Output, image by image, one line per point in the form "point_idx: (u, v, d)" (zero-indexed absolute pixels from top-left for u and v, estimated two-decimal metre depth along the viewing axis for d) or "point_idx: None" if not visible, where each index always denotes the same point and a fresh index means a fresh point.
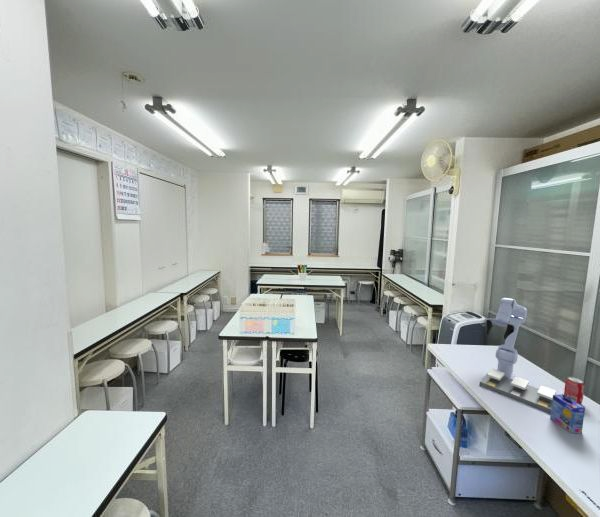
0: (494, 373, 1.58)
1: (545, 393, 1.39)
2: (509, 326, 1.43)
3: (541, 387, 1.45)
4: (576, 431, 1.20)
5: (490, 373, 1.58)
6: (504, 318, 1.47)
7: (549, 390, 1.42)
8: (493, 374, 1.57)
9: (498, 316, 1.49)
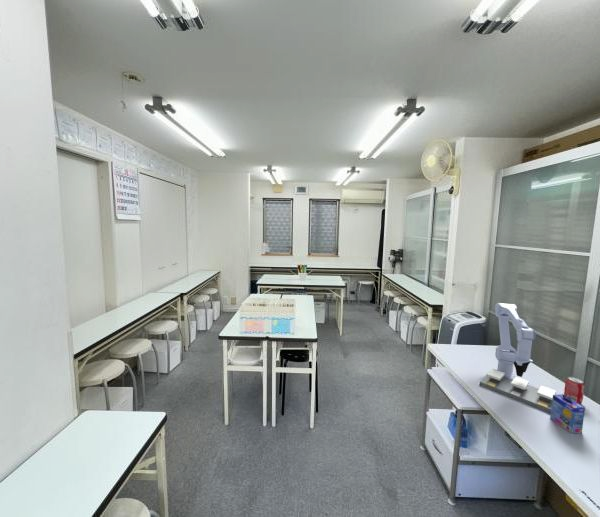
0: (494, 373, 1.58)
1: (545, 393, 1.39)
2: None
3: (541, 387, 1.45)
4: (576, 431, 1.20)
5: (490, 373, 1.58)
6: None
7: (549, 390, 1.42)
8: (493, 374, 1.57)
9: (528, 357, 1.45)
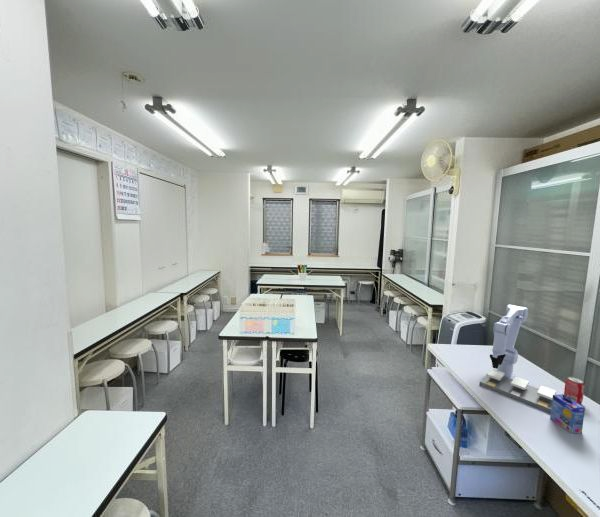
0: (494, 373, 1.58)
1: (545, 393, 1.39)
2: (505, 355, 1.57)
3: (541, 387, 1.45)
4: (576, 431, 1.20)
5: (490, 373, 1.58)
6: None
7: (549, 390, 1.42)
8: (493, 374, 1.57)
9: (503, 350, 1.53)
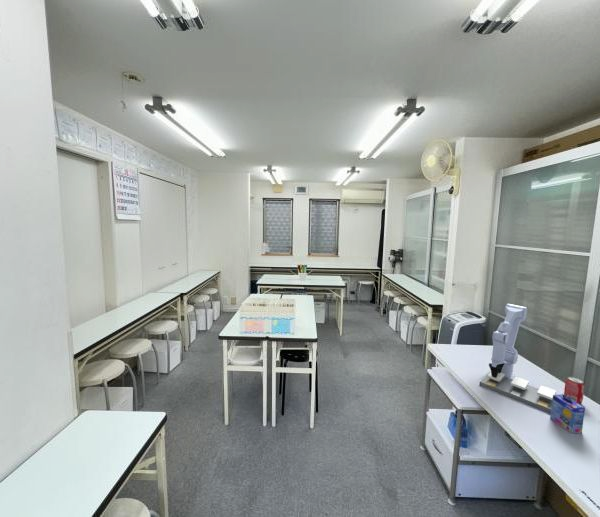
0: None
1: (545, 393, 1.39)
2: (504, 363, 1.58)
3: (541, 387, 1.45)
4: (576, 431, 1.20)
5: (490, 374, 1.58)
6: None
7: (549, 390, 1.42)
8: None
9: (502, 359, 1.54)
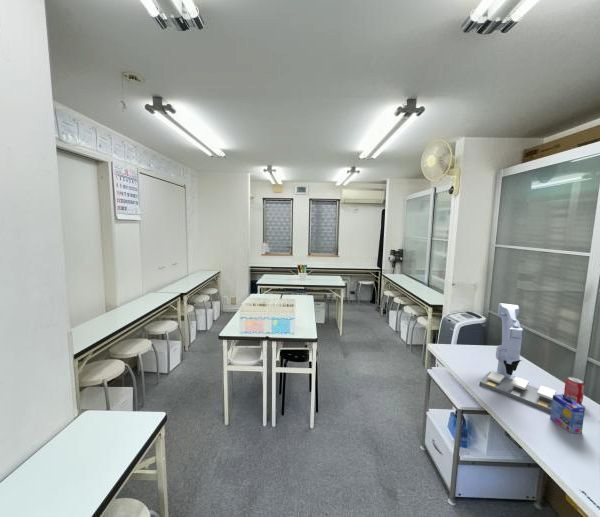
0: (494, 375, 1.58)
1: (545, 393, 1.39)
2: None
3: (541, 387, 1.45)
4: (576, 431, 1.20)
5: (490, 376, 1.58)
6: None
7: (549, 390, 1.42)
8: (493, 377, 1.57)
9: (518, 356, 1.48)
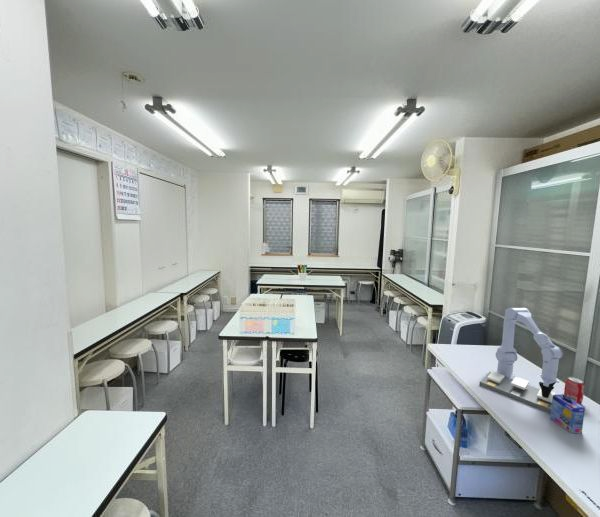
0: (494, 375, 1.58)
1: None
2: None
3: None
4: (576, 431, 1.20)
5: (490, 376, 1.58)
6: None
7: None
8: (493, 377, 1.57)
9: (555, 377, 1.37)
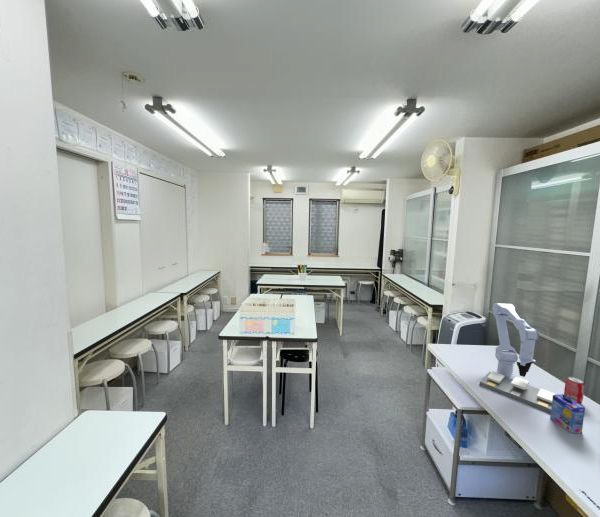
0: (494, 375, 1.58)
1: (545, 396, 1.39)
2: (532, 362, 1.50)
3: (541, 390, 1.45)
4: (576, 431, 1.20)
5: (490, 376, 1.58)
6: None
7: (549, 393, 1.42)
8: (493, 377, 1.57)
9: (531, 357, 1.45)
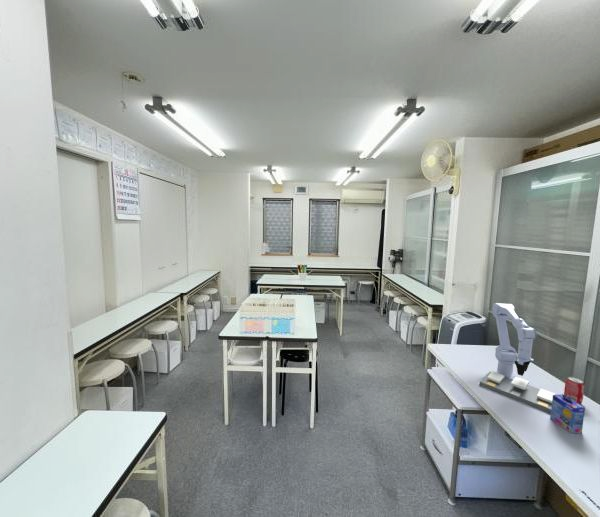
0: (494, 375, 1.58)
1: (545, 396, 1.39)
2: None
3: (541, 390, 1.45)
4: (576, 431, 1.20)
5: (490, 376, 1.58)
6: None
7: (549, 393, 1.42)
8: (493, 377, 1.57)
9: (529, 356, 1.46)
